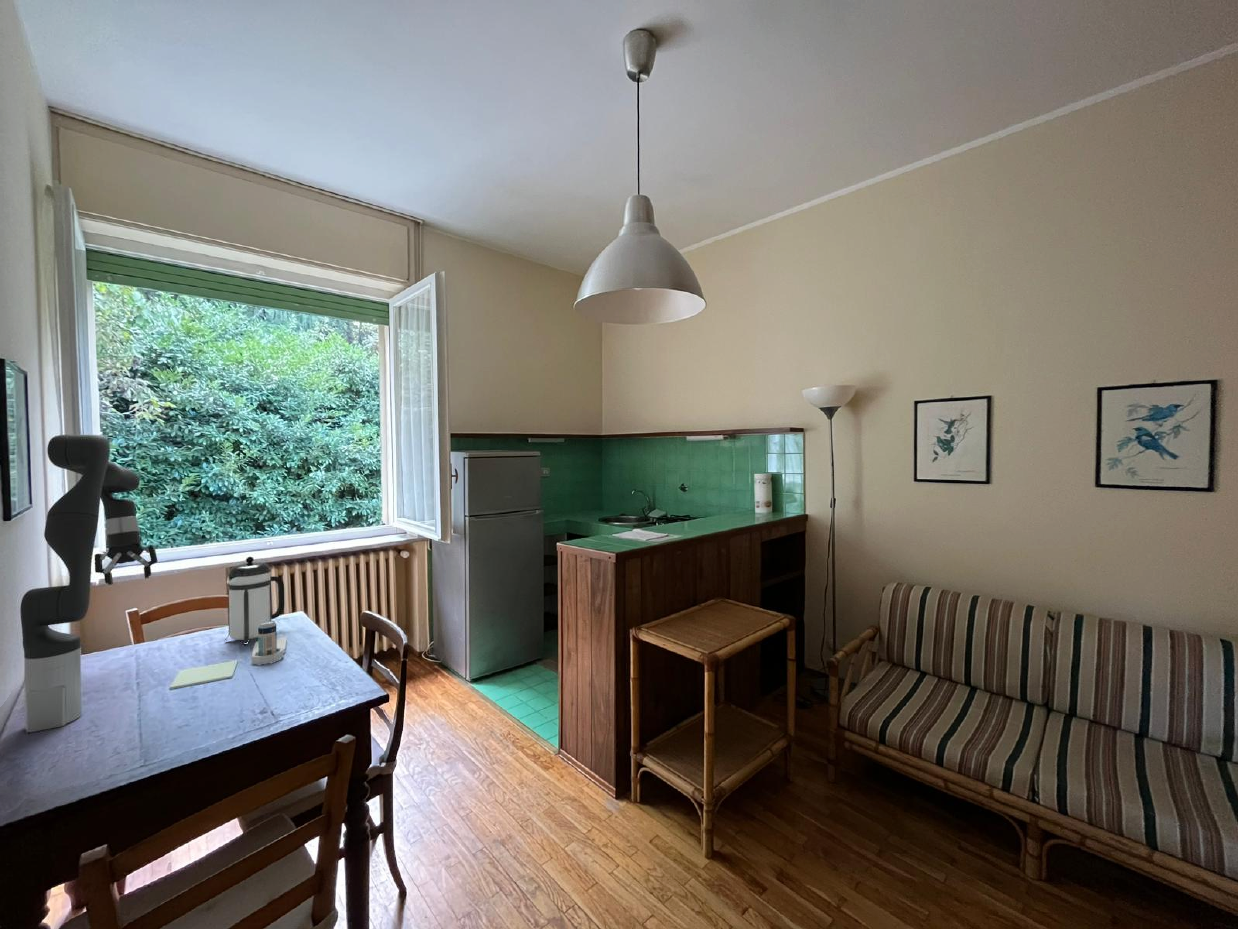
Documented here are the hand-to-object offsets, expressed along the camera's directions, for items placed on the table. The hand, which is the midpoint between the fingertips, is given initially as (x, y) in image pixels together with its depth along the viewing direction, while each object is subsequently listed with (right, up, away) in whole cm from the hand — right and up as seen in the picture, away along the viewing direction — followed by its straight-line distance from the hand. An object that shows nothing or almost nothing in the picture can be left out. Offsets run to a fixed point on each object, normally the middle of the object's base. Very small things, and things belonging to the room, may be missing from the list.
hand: (129, 581), depth 161 cm
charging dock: (+41, -25, +6) cm, 49 cm away
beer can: (+45, -26, 0) cm, 52 cm away
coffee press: (+25, -26, +21) cm, 42 cm away
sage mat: (+34, -26, -11) cm, 44 cm away
